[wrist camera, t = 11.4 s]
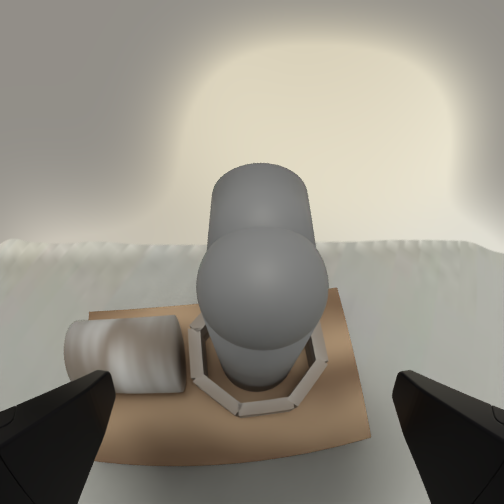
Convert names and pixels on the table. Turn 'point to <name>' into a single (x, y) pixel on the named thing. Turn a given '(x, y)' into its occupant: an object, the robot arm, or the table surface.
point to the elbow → (260, 274)
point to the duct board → (220, 431)
